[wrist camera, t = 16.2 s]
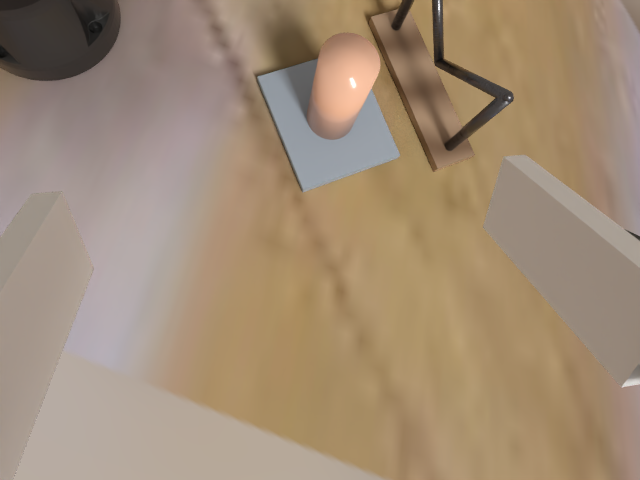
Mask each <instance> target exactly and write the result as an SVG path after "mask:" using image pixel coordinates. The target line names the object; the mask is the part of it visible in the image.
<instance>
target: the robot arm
mask: <svg viewBox="0 0 640 480" xmlns="http://www.w3.org/2000/svg"><path fill="white" fill-rule="evenodd" d="M120 18H121V17H120V8H119V4H118V1H117V0H0V67H1V68H3V69H4V70H6V71H8V72H10V73H12V74H15V75H17V76H20V77H24V78H28V79H33V80H46V81H48V80H60V79H65V78H69V77H72V76H76V75H78V74H81V73H83V72H85V71H87V70H88V69H90V68H92V67H93V66H95V65H96V64H97V63H99V62H100V61H101V60H102V59H103V58H104V57H105V56H106V55H107V53H108V52H109V51H110V49H111V48H112V46H113V45H114V43H115V41H116V38H117V36H118V32H119V28H120ZM483 228H484V229H485V230H486V231H487V233H488V234H489V235H490V236H491V237H492V238H493V240H494V241H495V242H496V243H497V244H498V245H499V246H500V248H501V249H502V250H503V251H504V252H505V253H506V255H507V256H508V257H509V258H510V259H511V260H512V262H513V263H514V264H515V265H516V266H517V267H518V268H519V270H520V271H521V272H522V273H523V274H524V275H525V277H526V278H527V279H528V280H529V281H530V282H531V283H532V285H533V286H534V287H535V288H536V289H537V290H538V292H539V293H540V294H541V295H542V296H543V297H544V298H545V300H546V301H547V302H548V303H549V304H550V305H551V307H552V308H553V309H554V310H555V311H556V312H557V314H558V315H559V316H560V317H561V318H562V319H563V320H564V322H565V323H566V324H567V325H568V326H569V327H570V329H571V330H572V331H573V332H574V333H575V334H576V335H577V337H578V338H579V339H580V340H581V341H582V342H583V344H584V345H585V346H586V347H587V348H588V349H589V350H590V352H591V353H592V354H593V355H594V356H595V357H596V359H597V360H598V361H599V362H600V363H601V364H602V366H603V367H604V368H605V369H606V370H607V371H608V372H609V374H610V375H611V376H612V377H613V378H614V379H615V381H616V382H617V383H618V384H619V385H620V386H621V387H626V386H631V385H637V384H640V236H638V235H636V234H634V233H631V232H629V231H627V230H625V229H623V228H622V227H621V226H619V225H618V224H617V223H615V222H614V221H613V220H611V219H610V218H609V217H607V216H606V215H605V214H603V213H602V212H601V211H599V210H598V209H597V208H595V207H594V206H593V205H591V204H590V203H589V202H587V201H586V200H585V199H583V198H582V197H581V196H579V195H578V194H577V193H575V192H574V191H573V190H571V189H570V188H569V187H567V186H566V185H565V184H563V183H562V182H561V181H559V180H558V179H557V178H555V177H554V176H553V175H551V174H550V173H549V172H547V171H546V170H545V169H543V168H542V167H541V166H539V165H538V164H537V163H536V162H534V161H533V160H532V159H530V158H529V157H528V156H526V155H517V156H505V157H503V160H502V164H501V167H500V170H499V174H498V177H497V181H496V184H495V188H494V191H493V195H492V198H491V201H490V205H489V208H488V212H487V215H486V219H485V222H484V225H483ZM93 270H94V267H93V265H92V263H91V260H90V258H89V255H88V253H87V251H86V248H85V246H84V243H83V241H82V238H81V236H80V234H79V231H78V229H77V226H76V224H75V222H74V219H73V217H72V214H71V212H70V209H69V207H68V205H67V202H66V200H65V197H64V195H63V192H49V193H36V194H31V195H30V197H29V198H28V200H27V201H26V202H25V204H24V205H23V206H22V208H21V209H20V211H19V212H18V213H17V215H16V216H15V218H14V219H13V220H12V222H11V223H10V224H9V226H8V227H7V229H6V230H5V231H4V233H3V234H2V235H1V237H0V480H13V479H14V476H15V474H16V471H17V468H18V466H19V463H20V460H21V458H22V455H23V452H24V450H25V447H26V445H27V442H28V439H29V437H30V434H31V432H32V429H33V426H34V424H35V421H36V419H37V416H38V413H39V411H40V408H41V406H42V403H43V400H44V398H45V395H46V392H47V390H48V387H49V385H50V382H51V379H52V377H53V374H54V372H55V369H56V366H57V364H58V361H59V358H60V356H61V353H62V351H63V348H64V345H65V343H66V340H67V338H68V335H69V332H70V330H71V327H72V324H73V322H74V319H75V317H76V314H77V311H78V309H79V306H80V304H81V301H82V298H83V296H84V293H85V290H86V288H87V285H88V283H89V280H90V277H91V275H92V272H93Z"/></svg>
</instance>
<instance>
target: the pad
mask: <svg viewBox="0 0 640 480" xmlns="http://www.w3.org/2000/svg"><path fill="white" fill-rule="evenodd" d="M317 62H318V59H315V60H311V61H308V62H305V63H301V64H298V65H295V66H291V67H288V68H285V69H281V70H278V71H275V72H271V73H268V74H265V75H261V76H258V84H259V86H260V88H261V91H262V93H263V96H264V98H265V101H266V103H267V106H268V108H269V111H270V113H271V116H272V118H273V121H274V123H275V126H276V128H277V131H278V133H279V135H280V138H281V140H282V143H283V145H284V148H285V150H286V153H287V155H288V158H289V160H290V163H291V165H292V168H293V170H294V173H295V175H296V177H297V180H298V182H299V185H300V187H301V190H302V192H305V191H308V190H311V189H313V188H316V187H319V186H322V185H324V184H327V183H330V182H333V181H336V180H338V179H341V178H344V177H347V176H350V175H352V174H355V173H358V172H361V171H363V170H366V169H369V168H372V167H375V166H377V165H380V164H383V163H386V162H388V161H391V160H394V159H397V158H398V157H399V156H400V154H399V151H398V149H397V147H396V144H395V142H394V140H393V138H392V135H391V133H390V131H389V128H388V126H387V124H386V121H385V119H384V117H383V114H382V112H381V110H380V107H379V105H378V103H377V101H376V98H375V96H374V94H373V91H372V89H371V90H370V92H369V94H368V96H367V98H366V100H365V102H364V104H363V107H362V109H361V111H360V113H359V115H358V117H357V119H356V121H355V123H354V125H353V127H352V129H351V130H350V132H349V133H348V134H347V135H345V136H344V137H342V138H340V139H335V140H329V139H324V138H321V137H319V136H318V135H316V134H315V133H314V132H313V131H312V130H311V128H310V127H309V125H308V122H307V116H306V115H307V108H308V104H309V99H310V95H311V90H312V85H313V81H314V76H315V71H316V67H317Z"/></svg>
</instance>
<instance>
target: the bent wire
mask: <svg viewBox="0 0 640 480" xmlns="http://www.w3.org/2000/svg"><path fill="white" fill-rule="evenodd" d="M413 2H414V0H402V2H401V4H400V6H399V9H398V11H397V13H396V15H395V17H394V20H393V22H392V24H391V27H392V29H393V30H396V31H397V30H400V28H401V26H402V24H403V22H404V20H405V18H406V16H407V14H408V12H409V10H410V8H411V6H412V4H413ZM432 12H433V41H434V64H435V66H436V67H438V68H440V69H442V70H444V71H446V72H448V73H449V74H451V75H453V76H455V77H457V78H459V79H461V80H463V81H465V82H467V83H468V84H470V85H472V86H474V87H476V88H478V89H480V90H482V91H484V92H486V93H487V94H489V95H491V96H493V97H495V99H494V100H493V101H492V102H491V103H490V104H489V105H488V106H486V107H485V108H484V109H483V110H482V111H481V112H480V113H479V114H477V115H476V116H475V117H474V118H473V119H472V120H471V121H470V122H468V123H467V124H466V125H465V126H464V127H463V128H462V129H461V130H459V131H458V132H457V133H456V134H455V135H454V136H453V137H452V138H450V139H449V140H448V141H447V142H446V143H445V148H446V150H448V151H452V150H454V149H455V148H456V147H457V146H458V145H460V144H461V143H462V142H463V141H465V140H466V139H467V138H468V137H470V136H471V135H472V134H473V133H474V132H476V131H477V130H478V129H479V128H481V127H482V126H483V125H484V124H485V123H487V122H488V121H489V120H490V119H492V118H493V117H494V116H495V115H496V114H498V113H499V112H500V111H501V110H503V109H504V108H505V107H506V106H507V105H509V104H510V103H511V102H512V101H513V99H514V96H513V93H512V92H511V91H509V90H507V89H505V88H503V87H501V86H499V85H496V84H494V83H492V82H490V81H488V80H486V79H484V78H482V77H480V76H478V75H476V74H474V73H472V72H470V71H468V70H466V69H464V68H462V67H460V66H458V65H456V64H454V63H452V62H450V61H448V60H446V59H444V41H443V0H432Z"/></svg>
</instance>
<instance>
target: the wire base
mask: <svg viewBox="0 0 640 480" xmlns="http://www.w3.org/2000/svg"><path fill="white" fill-rule="evenodd" d="M397 11H398V9H396V10H393V11H389V12H386V13H382V14H379V15H376V16H372V17H371V18H370V21H369V26H370V28H371V30H372V32H373V35H374V37H375V39H376V42H377V44H378V46H379V48H380V51H381V53H382V55H383V58H384V60H385V62H386V64H387V67H388V69H389V71H390V73H391V76H392V78H393V80H394V83H395V85H396V87H397V89H398V92H399V94H400V96H401V99H402V101H403V103H404V105H405V108H406V110H407V112H408V115H409V117H410V119H411V121H412V124H413V126H414V128H415V131H416V133H417V135H418V137H419V140H420V142H421V144H422V146H423V149H424V151H425V153H426V156H427V158H428V160H429V162H430V165H431V167H432V169H433V172H435V171H437V170H440V169H443V168H445V167H448V166H451V165H453V164H456V163H459V162H462V161H464V160H467V159H470V158H471V157H473V156H474V155H475V154H474V152H473V150H472V148H471V145H470V143H469V141H468V139H466V140H465V141H463V142H462V143H461V144H460V145H458V146H457V147H456V148H455V149H454V150H452V151H448V150H446V148H445V143H446V142H447V141H448V140H449V139H450V138H452V137H453V136H454V135H455V134H456V133H457V132H458V131H459V130H461V129H462V125H461V123H460V121H459V119H458V116H457V114H456V112H455V110H454V108H453V105H452V103H451V101H450V99H449V96H448V94H447V92H446V90H445V88H444V85H443V83H442V81H441V79H440V76H439V74H438V72H437V70H436V68H435V65H434V63H433V61H432V59H431V57H430V54H429V52H428V50H427V48H426V45H425V43H424V41H423V39H422V37H421V34H420V32H419V30H418V28H417V25H416V23H415V21H414V19H413V17H412V14H411V12H410V10H409V12H408V14H407V16H406V18H405V20H404V22H403V24H402V26H401V28H400V30H397V31H396V30H393V29H392V27H391V24H392V22H393V20H394V17H395V15H396V13H397Z"/></svg>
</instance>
